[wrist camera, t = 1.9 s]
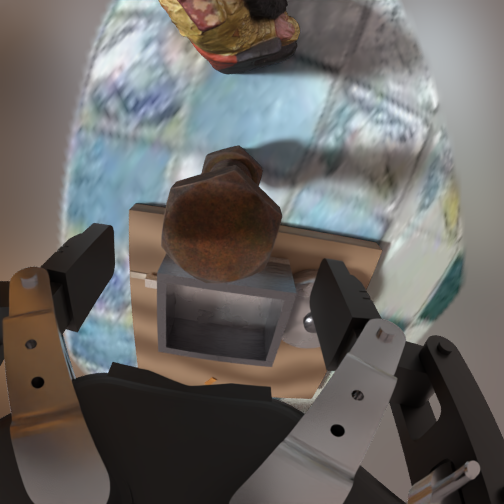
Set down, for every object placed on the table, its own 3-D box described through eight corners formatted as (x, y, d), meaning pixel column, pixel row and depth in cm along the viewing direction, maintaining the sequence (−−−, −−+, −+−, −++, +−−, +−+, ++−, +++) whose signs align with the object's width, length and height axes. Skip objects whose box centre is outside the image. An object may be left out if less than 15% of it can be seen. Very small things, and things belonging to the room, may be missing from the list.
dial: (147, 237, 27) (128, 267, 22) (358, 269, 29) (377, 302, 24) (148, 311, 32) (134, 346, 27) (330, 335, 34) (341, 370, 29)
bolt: (257, 131, 25) (270, 163, 12) (271, 183, 27) (294, 268, 14) (194, 148, 26) (138, 200, 12) (210, 199, 28) (178, 293, 15)
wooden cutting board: (135, 203, 28) (128, 210, 26) (376, 242, 30) (383, 251, 28) (142, 369, 39) (139, 379, 38) (309, 389, 42) (311, 399, 40)
